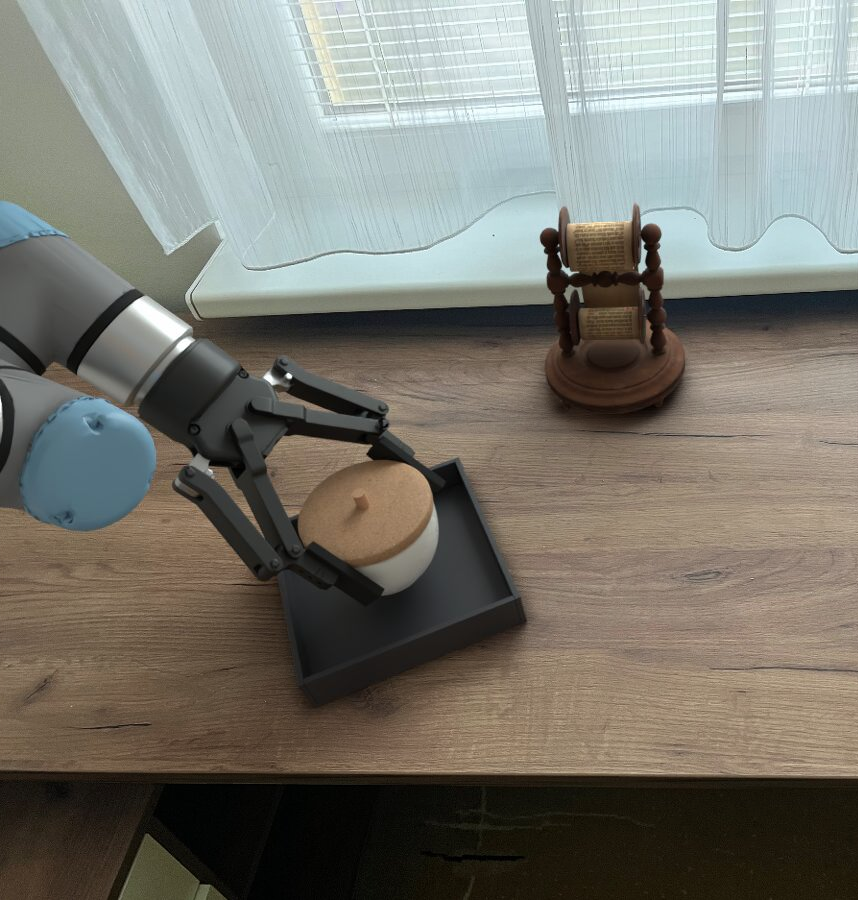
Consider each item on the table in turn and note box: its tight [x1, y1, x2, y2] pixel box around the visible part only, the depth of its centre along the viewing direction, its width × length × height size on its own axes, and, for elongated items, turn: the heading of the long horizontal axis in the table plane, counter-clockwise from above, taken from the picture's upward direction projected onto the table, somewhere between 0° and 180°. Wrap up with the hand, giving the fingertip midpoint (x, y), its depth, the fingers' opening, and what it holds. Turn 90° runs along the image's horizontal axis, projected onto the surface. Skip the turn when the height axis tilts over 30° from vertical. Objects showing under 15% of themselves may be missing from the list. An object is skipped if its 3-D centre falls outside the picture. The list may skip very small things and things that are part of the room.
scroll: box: [539, 202, 686, 415], centre depth 86 cm, size 15×15×20 cm
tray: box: [276, 456, 528, 709], centre depth 75 cm, size 18×18×3 cm
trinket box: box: [298, 460, 439, 596], centre depth 72 cm, size 11×11×9 cm
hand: (407, 541), depth 71 cm, fingers closed on trinket box, 11 cm apart
